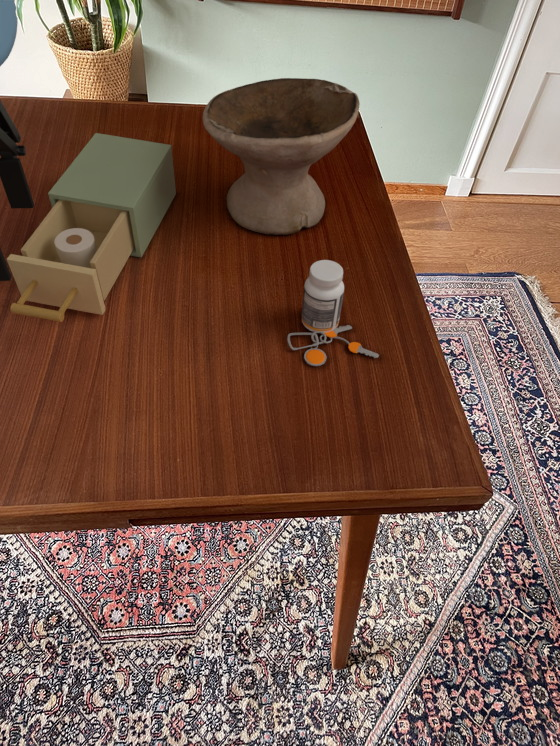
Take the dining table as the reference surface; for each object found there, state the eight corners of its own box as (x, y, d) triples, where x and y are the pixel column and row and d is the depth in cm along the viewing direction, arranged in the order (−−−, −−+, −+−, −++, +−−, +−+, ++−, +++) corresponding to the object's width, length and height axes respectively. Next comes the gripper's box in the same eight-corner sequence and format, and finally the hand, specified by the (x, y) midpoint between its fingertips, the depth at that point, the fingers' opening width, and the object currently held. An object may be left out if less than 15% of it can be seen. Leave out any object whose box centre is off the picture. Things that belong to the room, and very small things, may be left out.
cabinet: (141, 257, 94) (133, 207, 86) (62, 243, 95) (47, 193, 88) (176, 193, 106) (171, 144, 98) (105, 181, 107) (95, 132, 99)
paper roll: (56, 275, 87) (46, 246, 83) (75, 253, 91) (66, 224, 86) (89, 284, 87) (81, 255, 82) (107, 261, 90) (100, 232, 86)
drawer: (85, 345, 80) (73, 305, 74) (2, 329, 81) (-17, 289, 75) (143, 241, 95) (136, 201, 89) (72, 229, 96) (61, 188, 90)
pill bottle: (315, 304, 90) (322, 252, 82) (346, 321, 87) (355, 268, 80) (293, 323, 86) (297, 270, 79) (324, 341, 84) (331, 288, 77)
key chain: (292, 368, 81) (293, 364, 80) (284, 330, 85) (285, 326, 85) (380, 361, 83) (381, 357, 82) (367, 324, 87) (368, 320, 87)
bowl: (295, 154, 116) (304, 49, 101) (373, 221, 104) (397, 113, 88) (181, 188, 107) (171, 78, 91) (251, 267, 94) (254, 155, 78)
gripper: (-55, 122, 45) (23, 314, 61) (12, 2, 61) (60, 181, 77) (-158, 120, 44) (-51, 315, 61) (-63, 0, 60) (2, 181, 76)
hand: (11, 240), depth 69 cm, fingers open, 13 cm apart
